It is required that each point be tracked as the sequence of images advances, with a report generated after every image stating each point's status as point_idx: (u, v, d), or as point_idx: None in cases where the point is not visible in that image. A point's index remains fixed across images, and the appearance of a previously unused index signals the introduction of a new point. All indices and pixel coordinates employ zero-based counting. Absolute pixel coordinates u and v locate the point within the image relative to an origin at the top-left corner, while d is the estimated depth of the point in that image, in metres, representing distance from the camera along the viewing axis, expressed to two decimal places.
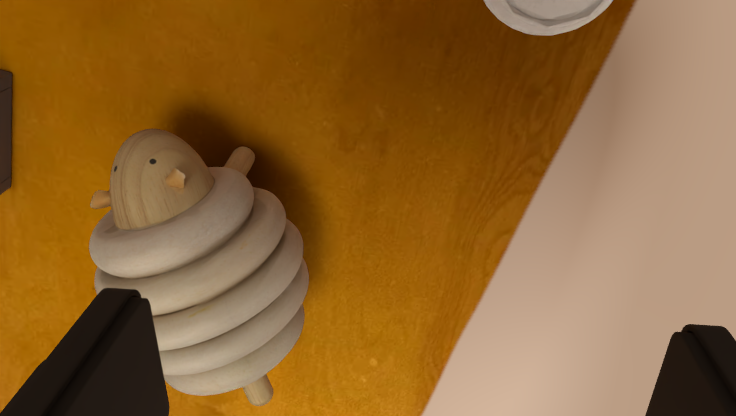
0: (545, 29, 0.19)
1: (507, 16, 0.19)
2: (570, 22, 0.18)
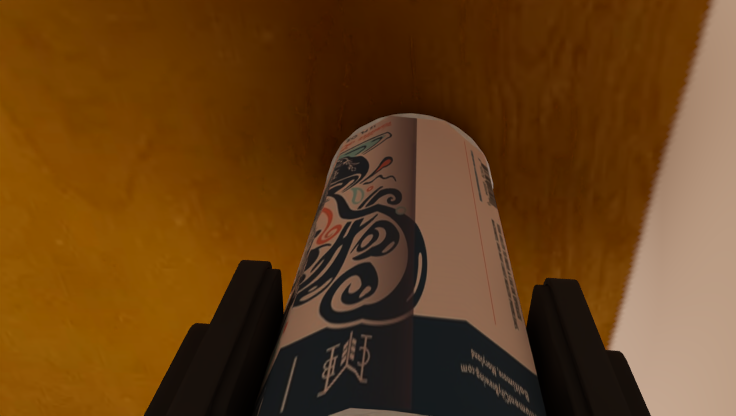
0: None
1: None
2: None
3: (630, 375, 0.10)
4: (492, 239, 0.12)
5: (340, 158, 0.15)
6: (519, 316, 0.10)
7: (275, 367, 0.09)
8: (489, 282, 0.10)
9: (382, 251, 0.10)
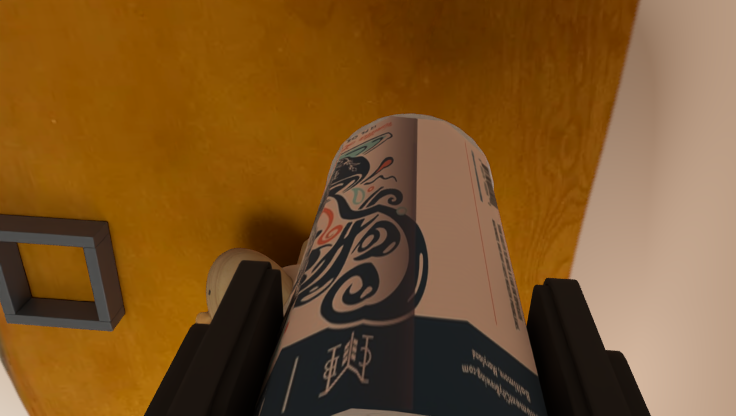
0: None
1: None
2: None
3: (630, 376, 0.10)
4: (493, 239, 0.12)
5: (341, 158, 0.15)
6: (520, 316, 0.10)
7: (276, 367, 0.09)
8: (490, 283, 0.10)
9: (382, 251, 0.10)
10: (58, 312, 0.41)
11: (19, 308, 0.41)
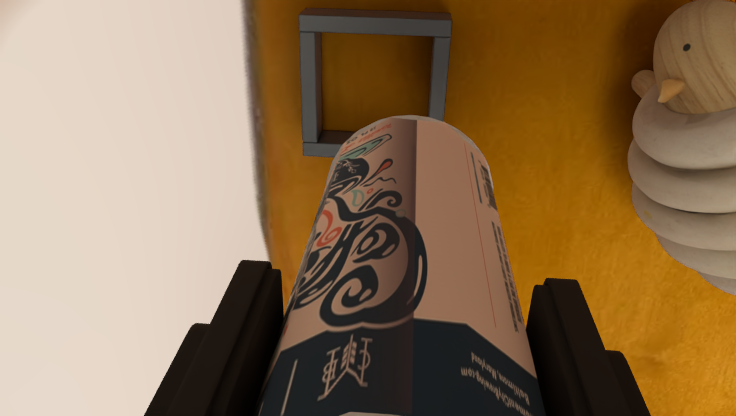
0: None
1: None
2: None
3: (630, 375, 0.10)
4: (492, 241, 0.12)
5: (340, 160, 0.15)
6: (519, 319, 0.10)
7: (275, 370, 0.09)
8: (490, 285, 0.10)
9: (382, 253, 0.10)
10: None
11: (318, 137, 0.32)
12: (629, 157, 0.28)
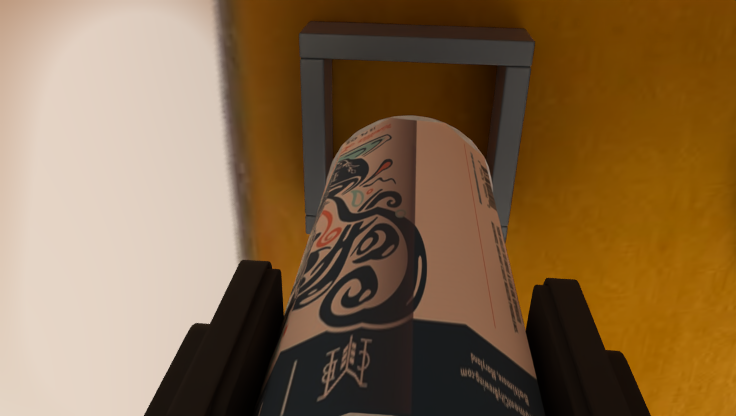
0: None
1: None
2: None
3: (630, 375, 0.10)
4: (492, 242, 0.12)
5: (340, 160, 0.15)
6: (519, 319, 0.10)
7: (275, 371, 0.09)
8: (489, 286, 0.10)
9: (382, 254, 0.10)
10: None
11: None
12: None
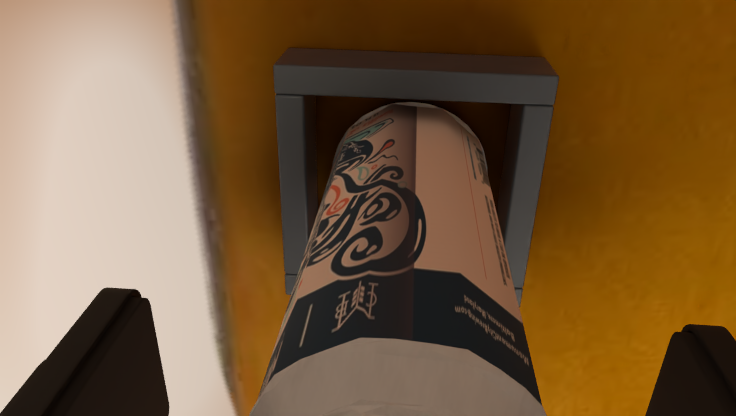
0: None
1: None
2: None
3: None
4: (485, 211, 0.13)
5: (346, 142, 0.17)
6: (508, 275, 0.11)
7: (293, 314, 0.10)
8: (482, 246, 0.12)
9: (385, 216, 0.11)
10: None
11: None
12: None
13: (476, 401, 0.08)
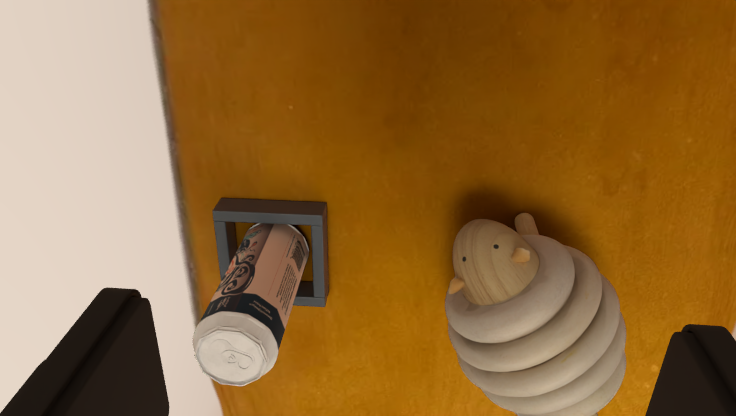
0: None
1: None
2: (252, 381, 0.33)
3: None
4: (283, 271, 0.37)
5: (243, 239, 0.41)
6: (280, 294, 0.36)
7: (208, 306, 0.34)
8: (272, 284, 0.36)
9: (241, 275, 0.35)
10: None
11: None
12: None
13: (247, 326, 0.32)
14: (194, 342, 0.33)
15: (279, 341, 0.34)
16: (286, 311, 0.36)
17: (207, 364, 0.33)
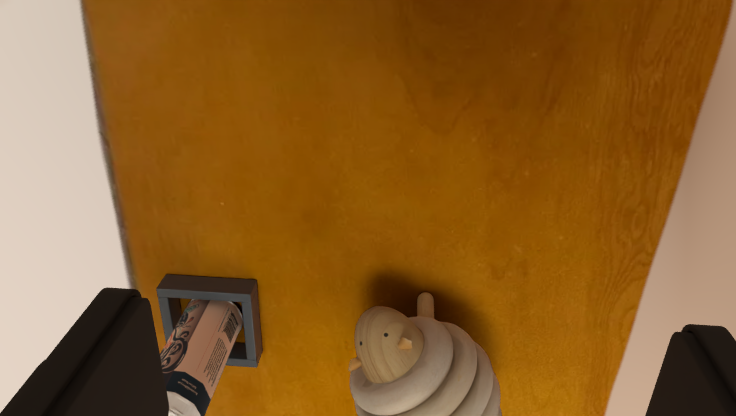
0: None
1: None
2: None
3: None
4: (213, 345, 0.44)
5: (184, 311, 0.47)
6: (208, 369, 0.42)
7: None
8: (201, 360, 0.42)
9: (174, 353, 0.42)
10: None
11: None
12: None
13: (174, 403, 0.39)
14: None
15: (204, 412, 0.40)
16: (213, 383, 0.42)
17: None
